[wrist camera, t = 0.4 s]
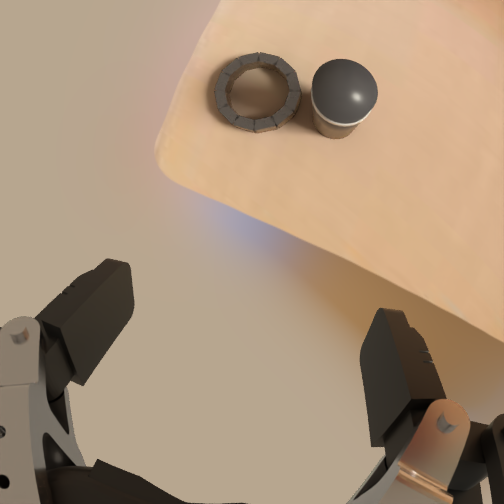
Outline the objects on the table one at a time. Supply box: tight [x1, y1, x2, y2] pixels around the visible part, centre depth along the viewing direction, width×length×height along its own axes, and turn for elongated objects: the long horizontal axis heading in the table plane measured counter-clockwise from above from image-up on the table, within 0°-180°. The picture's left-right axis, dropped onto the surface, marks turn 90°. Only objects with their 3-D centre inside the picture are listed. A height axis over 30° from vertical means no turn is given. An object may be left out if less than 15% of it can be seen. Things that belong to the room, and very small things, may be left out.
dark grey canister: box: [311, 59, 378, 139], centre depth 25 cm, size 5×5×12 cm
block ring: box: [214, 52, 301, 133], centre depth 30 cm, size 9×9×2 cm
